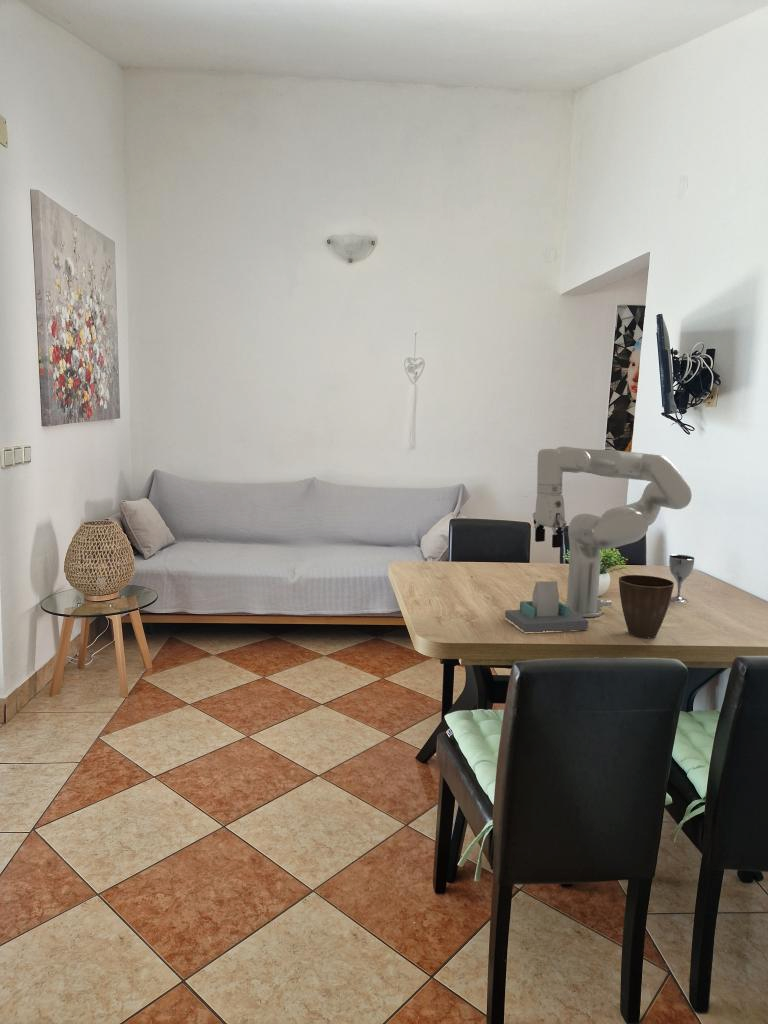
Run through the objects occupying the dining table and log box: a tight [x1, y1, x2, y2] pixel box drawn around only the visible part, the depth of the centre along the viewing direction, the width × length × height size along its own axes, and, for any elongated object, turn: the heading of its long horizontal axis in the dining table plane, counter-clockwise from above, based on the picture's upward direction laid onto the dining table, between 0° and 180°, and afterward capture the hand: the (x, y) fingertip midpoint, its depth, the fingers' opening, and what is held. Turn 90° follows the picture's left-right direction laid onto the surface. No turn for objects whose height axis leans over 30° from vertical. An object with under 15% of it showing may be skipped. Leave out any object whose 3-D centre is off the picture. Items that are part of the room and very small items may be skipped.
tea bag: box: [531, 580, 560, 617], centre depth 217 cm, size 4×7×10 cm, turn 103°
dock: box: [504, 600, 589, 632], centre depth 217 cm, size 20×14×6 cm
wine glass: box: [668, 554, 695, 603], centre depth 250 cm, size 8×8×15 cm
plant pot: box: [618, 574, 675, 639], centre depth 209 cm, size 15×15×16 cm
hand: (548, 544), depth 225 cm, fingers open, 9 cm apart
